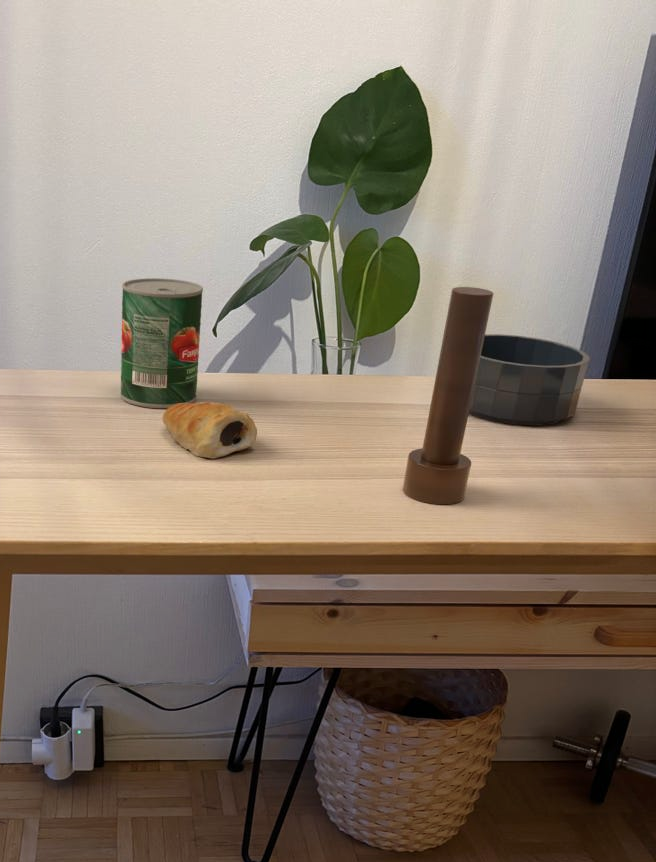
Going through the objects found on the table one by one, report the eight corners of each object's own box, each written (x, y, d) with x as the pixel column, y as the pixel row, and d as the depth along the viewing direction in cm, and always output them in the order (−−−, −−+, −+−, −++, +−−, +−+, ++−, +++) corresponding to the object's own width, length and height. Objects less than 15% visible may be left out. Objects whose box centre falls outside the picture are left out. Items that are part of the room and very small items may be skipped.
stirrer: (477, 498, 78) (522, 295, 70) (432, 508, 76) (473, 299, 68) (434, 478, 82) (472, 282, 74) (390, 487, 80) (424, 286, 71)
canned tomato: (115, 386, 101) (117, 277, 95) (188, 386, 102) (194, 278, 97) (125, 409, 94) (127, 293, 89) (203, 408, 96) (210, 294, 90)
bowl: (601, 417, 99) (617, 359, 96) (512, 434, 93) (526, 372, 90) (504, 384, 109) (516, 330, 106) (418, 396, 103) (428, 340, 100)
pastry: (143, 431, 89) (145, 391, 87) (200, 421, 92) (203, 381, 90) (205, 463, 82) (209, 419, 80) (264, 450, 86) (269, 408, 84)
